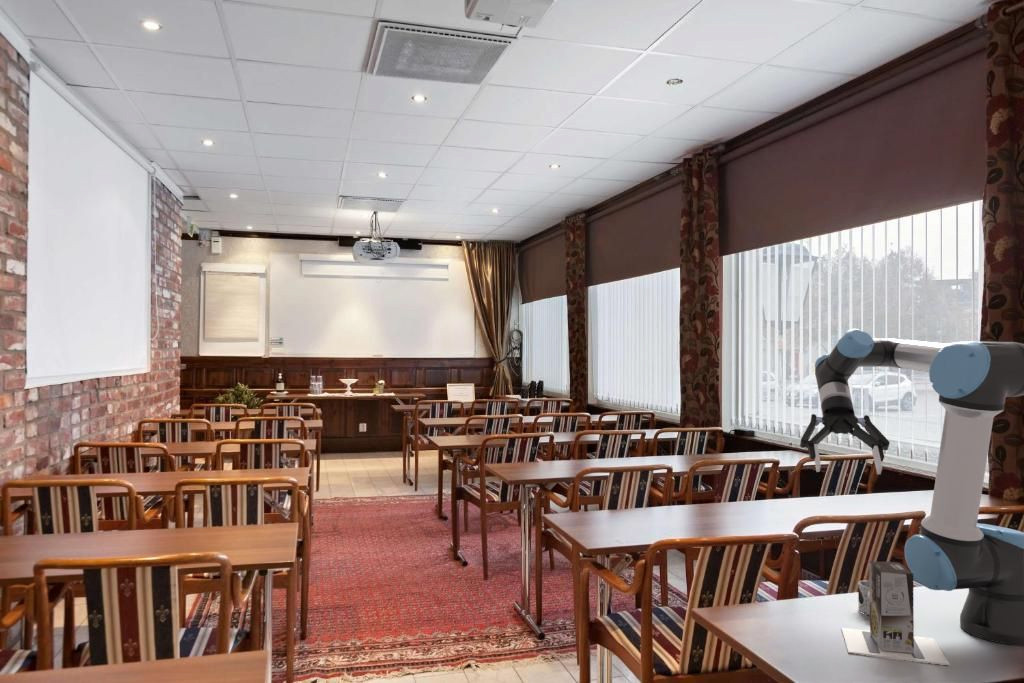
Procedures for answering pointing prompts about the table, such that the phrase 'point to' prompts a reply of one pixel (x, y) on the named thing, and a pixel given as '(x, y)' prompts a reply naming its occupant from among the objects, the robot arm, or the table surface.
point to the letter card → (867, 646)
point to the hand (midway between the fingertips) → (848, 469)
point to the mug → (864, 597)
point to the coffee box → (891, 606)
